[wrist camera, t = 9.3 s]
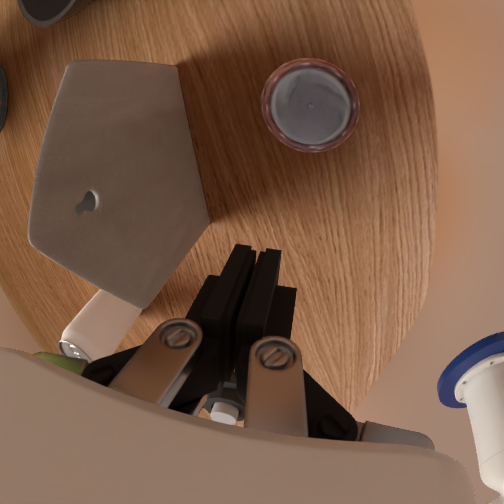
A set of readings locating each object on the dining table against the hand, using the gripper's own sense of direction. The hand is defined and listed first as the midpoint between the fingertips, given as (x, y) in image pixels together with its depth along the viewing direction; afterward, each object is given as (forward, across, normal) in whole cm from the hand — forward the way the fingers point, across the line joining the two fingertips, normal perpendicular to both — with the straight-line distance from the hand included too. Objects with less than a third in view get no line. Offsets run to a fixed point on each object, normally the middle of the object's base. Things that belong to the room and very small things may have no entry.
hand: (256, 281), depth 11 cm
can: (+18, +20, +19) cm, 33 cm away
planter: (+18, +13, 0) cm, 22 cm away
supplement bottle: (+18, -1, -6) cm, 19 cm away
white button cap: (+14, +5, +35) cm, 38 cm away
